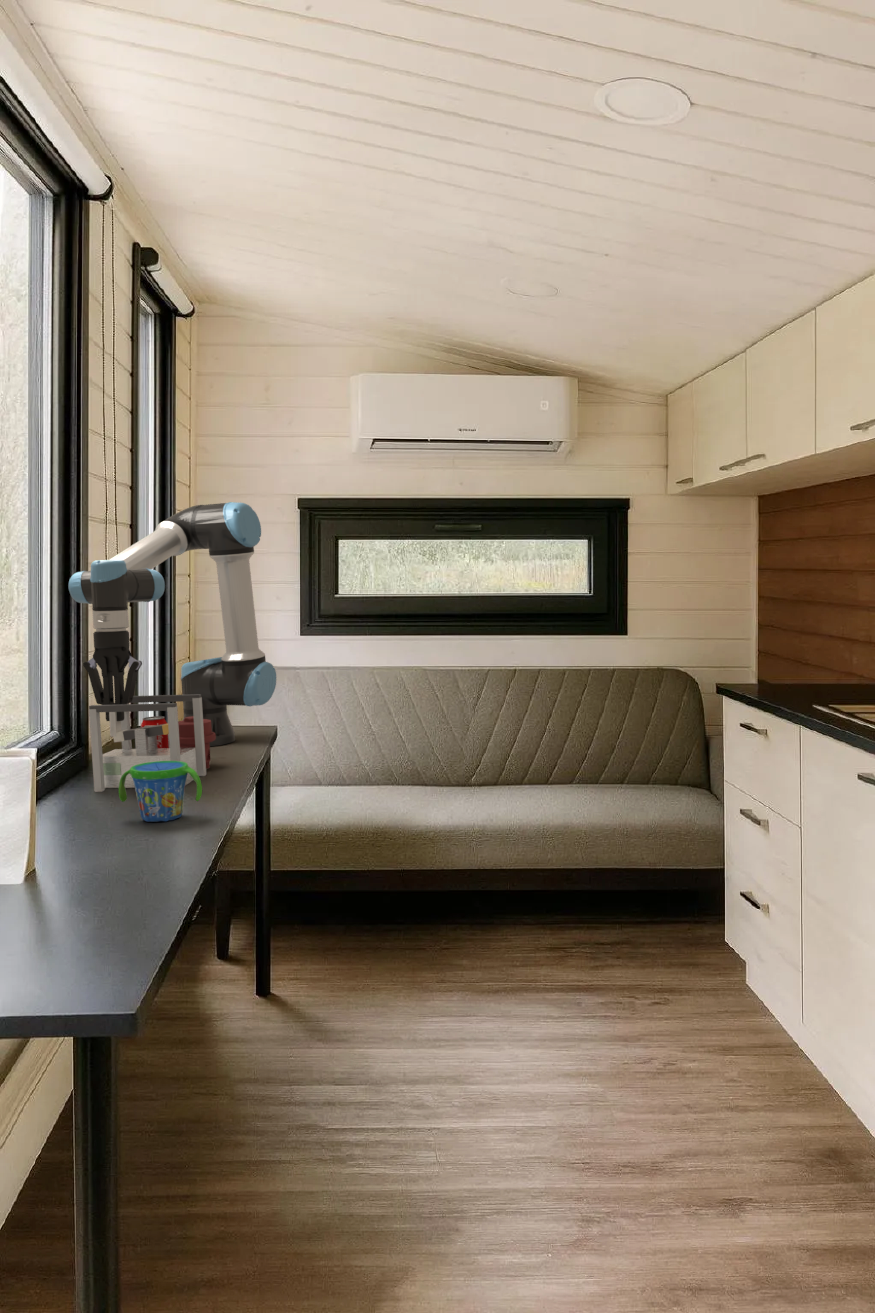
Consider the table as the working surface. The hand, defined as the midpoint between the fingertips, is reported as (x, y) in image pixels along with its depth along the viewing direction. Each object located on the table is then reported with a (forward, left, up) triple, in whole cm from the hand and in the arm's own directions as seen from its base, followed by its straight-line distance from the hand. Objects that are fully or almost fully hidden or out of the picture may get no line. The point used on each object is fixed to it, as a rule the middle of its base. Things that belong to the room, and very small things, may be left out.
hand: (115, 735), depth 220 cm
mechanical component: (-16, +12, -11) cm, 23 cm away
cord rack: (0, +7, -11) cm, 13 cm away
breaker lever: (0, +7, 0) cm, 7 cm away
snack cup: (+32, +23, -11) cm, 41 cm away
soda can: (-19, +1, -11) cm, 22 cm away
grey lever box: (0, +7, -11) cm, 13 cm away
